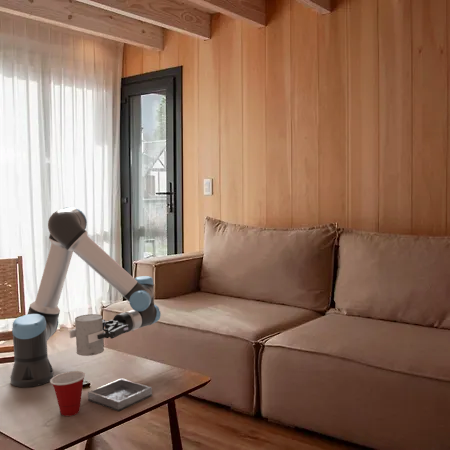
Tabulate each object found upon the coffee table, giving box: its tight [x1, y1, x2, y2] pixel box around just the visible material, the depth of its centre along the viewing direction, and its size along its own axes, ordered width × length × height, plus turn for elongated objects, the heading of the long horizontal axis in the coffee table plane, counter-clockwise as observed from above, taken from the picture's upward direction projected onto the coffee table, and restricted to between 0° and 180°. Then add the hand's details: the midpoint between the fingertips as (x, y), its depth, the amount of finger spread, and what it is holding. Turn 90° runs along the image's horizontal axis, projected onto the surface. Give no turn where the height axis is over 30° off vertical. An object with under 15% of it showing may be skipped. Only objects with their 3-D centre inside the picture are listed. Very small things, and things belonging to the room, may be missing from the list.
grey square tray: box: [87, 377, 153, 412], centre depth 192 cm, size 15×15×3 cm
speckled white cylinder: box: [74, 313, 105, 357], centre depth 202 cm, size 10×10×12 cm
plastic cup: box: [49, 370, 86, 417], centre depth 181 cm, size 11×11×12 cm
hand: (79, 336), depth 199 cm, fingers closed on speckled white cylinder, 9 cm apart
